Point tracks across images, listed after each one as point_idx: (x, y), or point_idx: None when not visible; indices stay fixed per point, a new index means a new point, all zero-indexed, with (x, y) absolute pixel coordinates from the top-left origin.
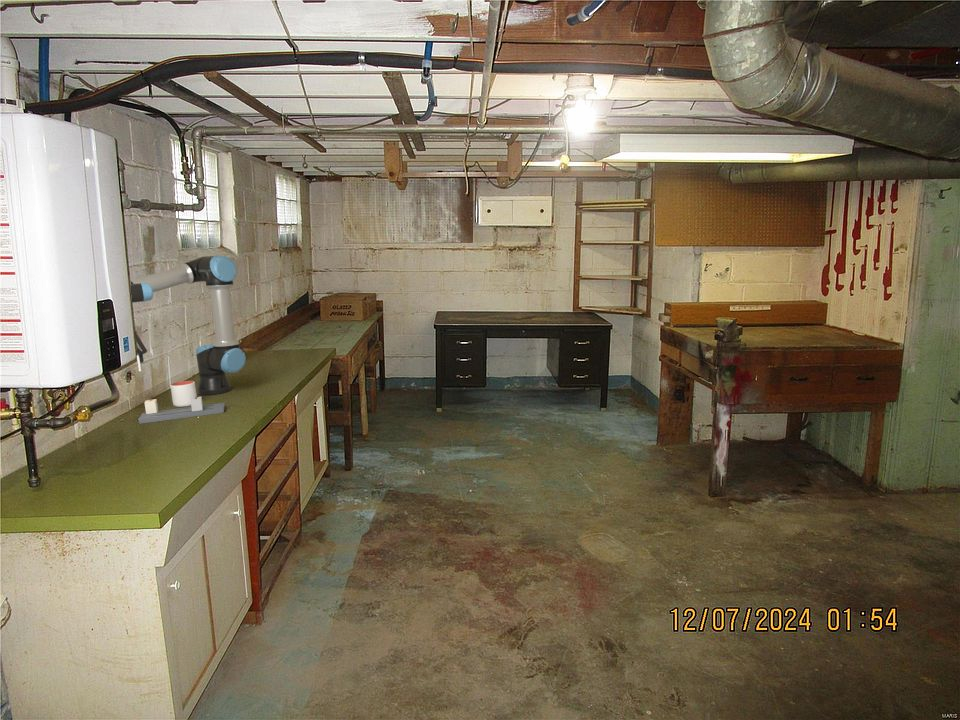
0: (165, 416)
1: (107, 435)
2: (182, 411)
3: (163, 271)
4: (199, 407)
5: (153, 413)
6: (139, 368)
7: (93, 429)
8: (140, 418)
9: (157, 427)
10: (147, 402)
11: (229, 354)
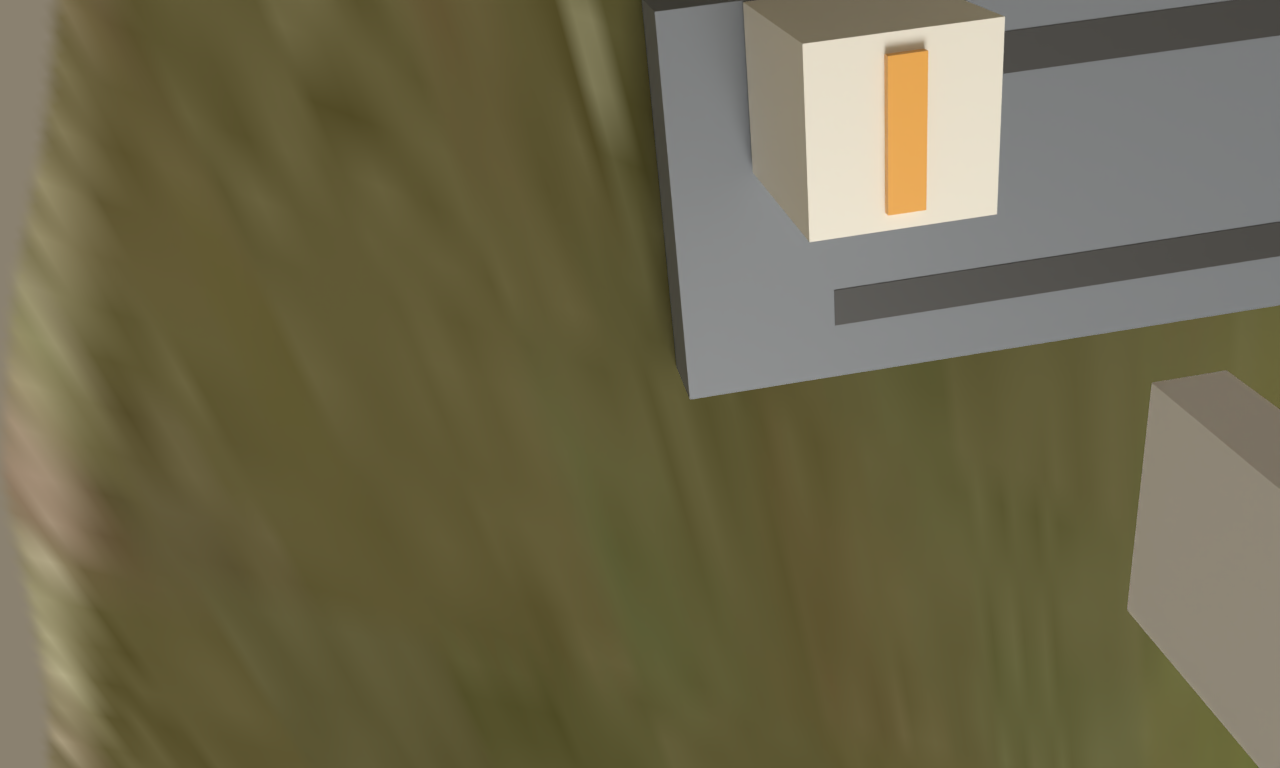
0: (1038, 337)
1: (432, 755)
2: (1273, 192)
3: None
4: None
5: None
6: (1220, 680)
7: (67, 446)
8: (713, 386)
9: (943, 611)
10: (859, 229)
11: None
